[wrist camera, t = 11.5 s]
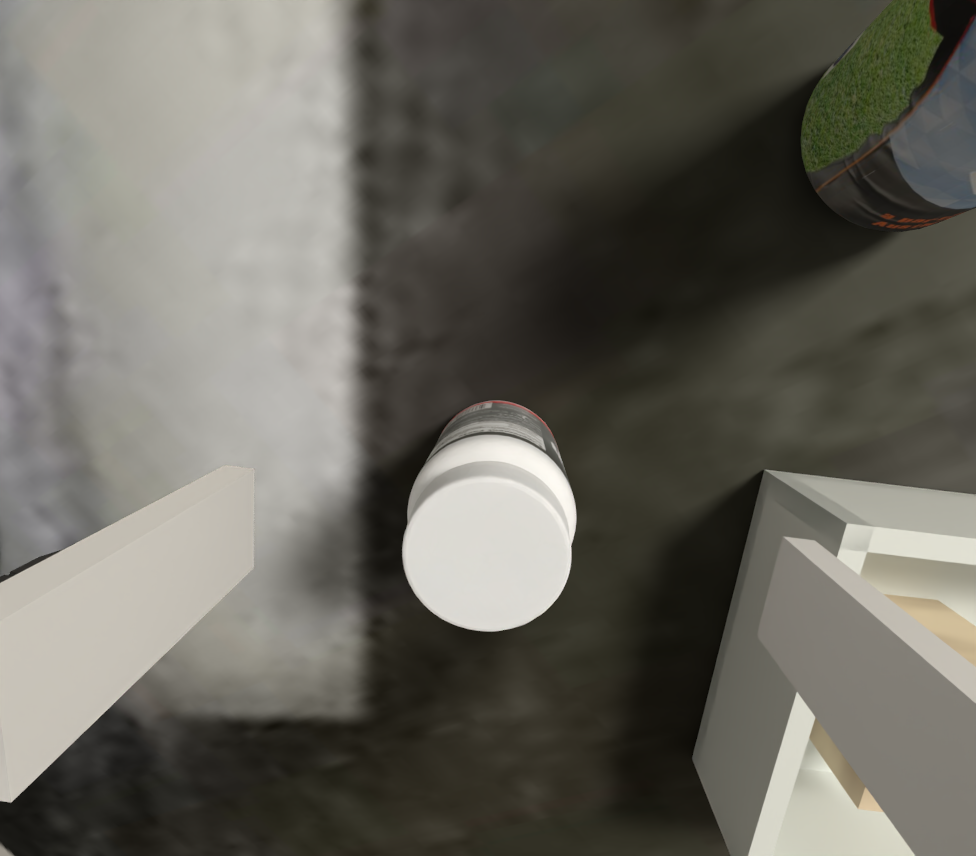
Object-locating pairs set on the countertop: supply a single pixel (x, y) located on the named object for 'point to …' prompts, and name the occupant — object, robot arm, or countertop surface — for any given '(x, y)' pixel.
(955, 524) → the tote
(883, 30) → the beverage can
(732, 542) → the countertop surface
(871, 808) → the cube
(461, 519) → the pill bottle
